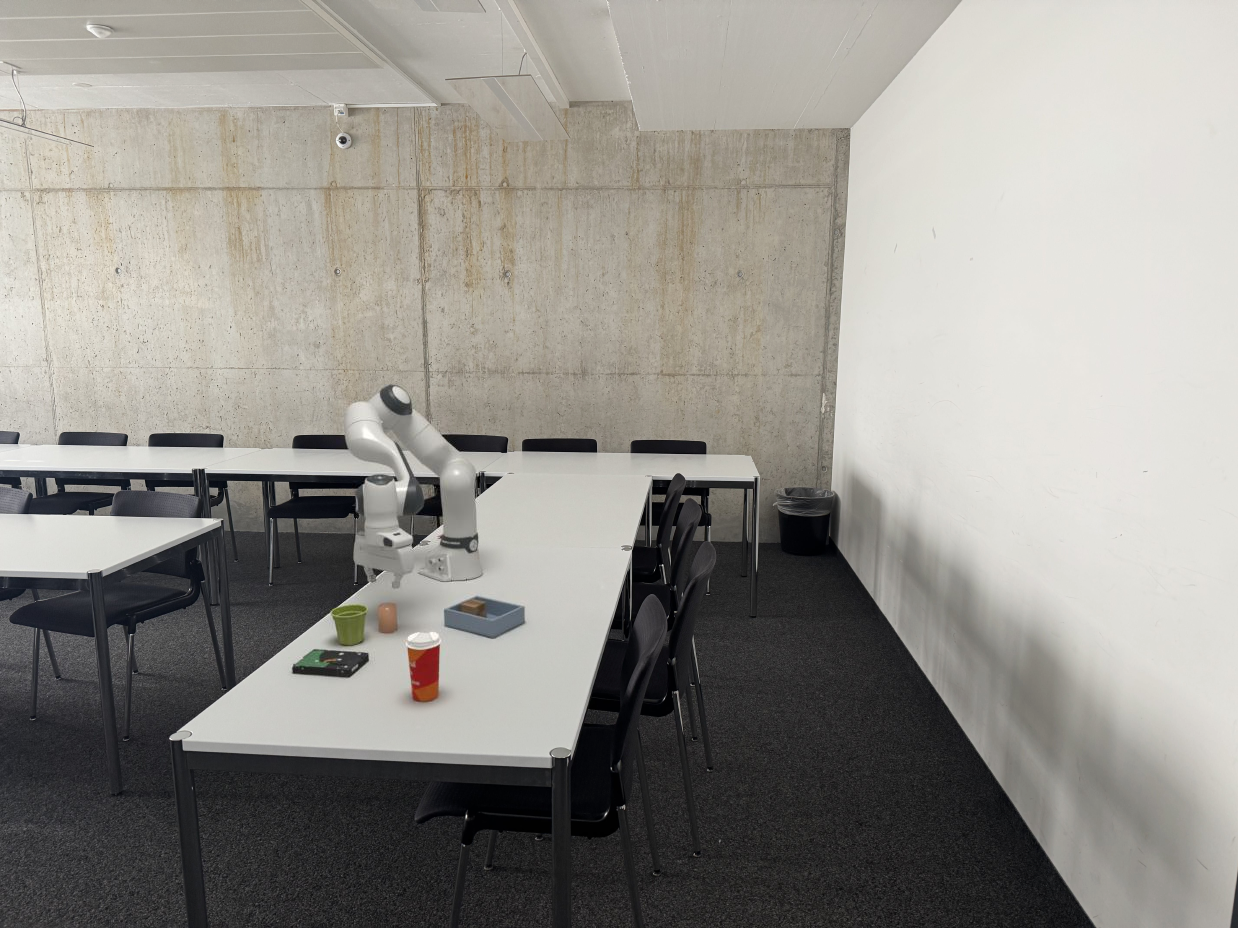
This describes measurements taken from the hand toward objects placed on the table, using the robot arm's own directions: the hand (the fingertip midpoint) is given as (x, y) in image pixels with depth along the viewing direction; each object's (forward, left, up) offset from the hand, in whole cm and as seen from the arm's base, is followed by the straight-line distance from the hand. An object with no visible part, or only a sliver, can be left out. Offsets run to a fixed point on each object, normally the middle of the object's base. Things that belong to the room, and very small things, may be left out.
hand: (383, 584), depth 212 cm
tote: (+21, +17, -13) cm, 30 cm away
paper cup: (+39, -24, -13) cm, 47 cm away
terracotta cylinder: (+1, 0, -13) cm, 13 cm away
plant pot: (-1, -11, -13) cm, 17 cm away
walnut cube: (+17, +17, -12) cm, 27 cm away
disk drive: (+8, -24, -14) cm, 29 cm away
